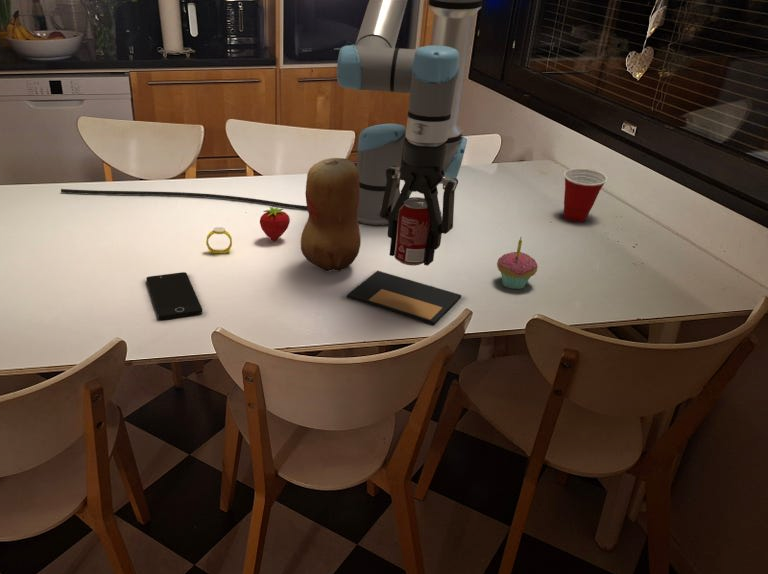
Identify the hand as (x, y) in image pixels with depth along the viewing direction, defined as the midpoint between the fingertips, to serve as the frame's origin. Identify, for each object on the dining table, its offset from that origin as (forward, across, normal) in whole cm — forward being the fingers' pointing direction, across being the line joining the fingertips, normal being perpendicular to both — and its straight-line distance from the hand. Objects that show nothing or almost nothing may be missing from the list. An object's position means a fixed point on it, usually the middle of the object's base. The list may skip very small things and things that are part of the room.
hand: (411, 257), depth 135 cm
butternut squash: (+11, -22, +7) cm, 26 cm away
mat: (+11, -2, +4) cm, 12 cm away
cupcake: (+11, +15, +24) cm, 30 cm away
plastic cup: (+11, +16, +72) cm, 74 cm away
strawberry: (+11, -41, +12) cm, 44 cm away
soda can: (+1, 0, 0) cm, 1 cm away
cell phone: (+11, -42, -24) cm, 50 cm away
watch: (+11, -48, -1) cm, 49 cm away
